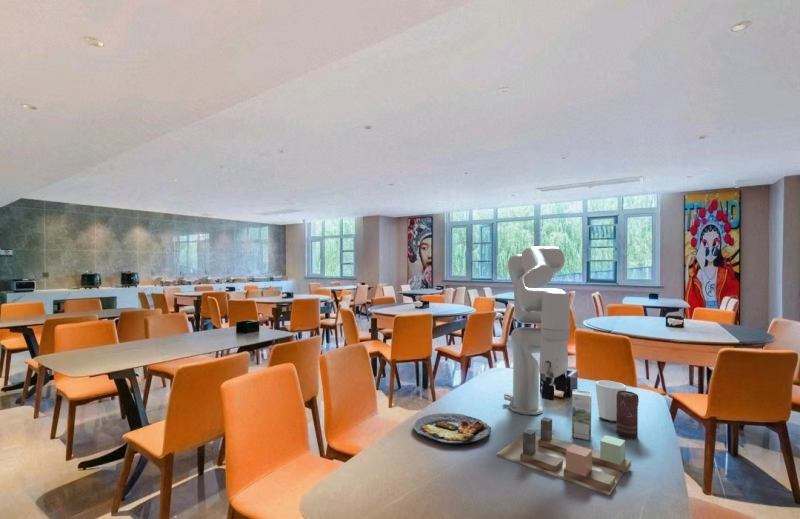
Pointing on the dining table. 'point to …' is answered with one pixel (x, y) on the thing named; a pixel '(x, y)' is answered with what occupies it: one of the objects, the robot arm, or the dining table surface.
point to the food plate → (452, 428)
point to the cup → (608, 398)
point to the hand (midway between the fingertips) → (554, 394)
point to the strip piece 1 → (537, 453)
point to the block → (579, 460)
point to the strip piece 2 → (593, 479)
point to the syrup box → (581, 414)
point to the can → (627, 415)
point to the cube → (612, 449)
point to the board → (516, 449)
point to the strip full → (562, 445)
